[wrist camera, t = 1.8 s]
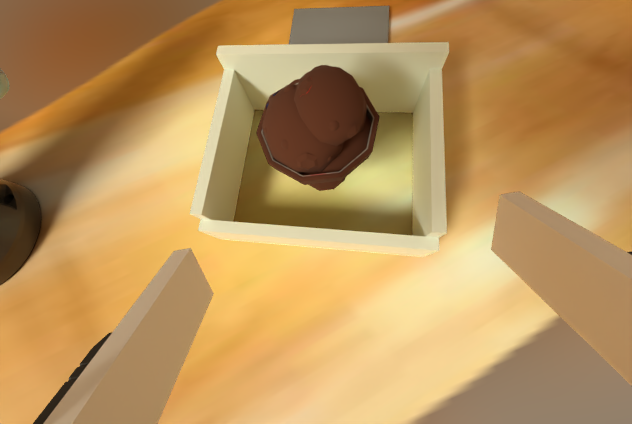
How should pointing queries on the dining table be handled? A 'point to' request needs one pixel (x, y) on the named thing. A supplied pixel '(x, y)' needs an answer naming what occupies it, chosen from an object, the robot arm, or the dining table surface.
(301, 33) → the slate mat
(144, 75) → the dining table surface
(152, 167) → the dining table surface
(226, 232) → the drawer
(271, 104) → the ice cream bowl
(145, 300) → the robot arm
